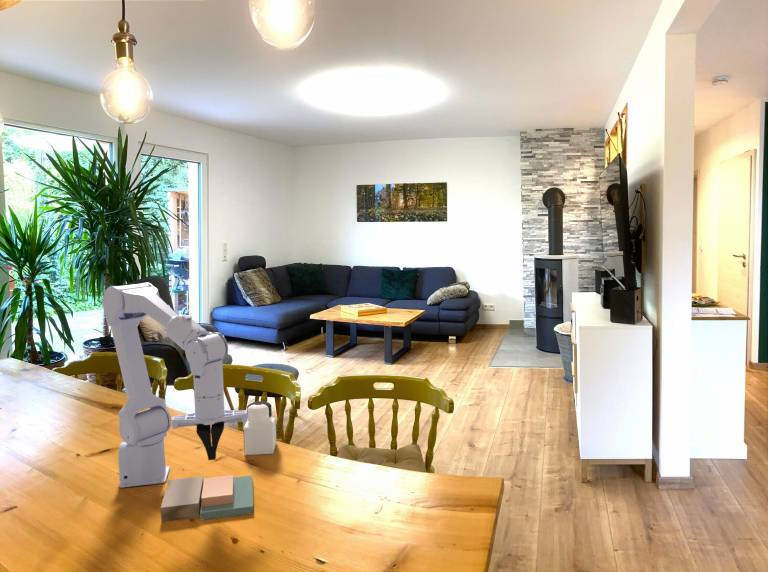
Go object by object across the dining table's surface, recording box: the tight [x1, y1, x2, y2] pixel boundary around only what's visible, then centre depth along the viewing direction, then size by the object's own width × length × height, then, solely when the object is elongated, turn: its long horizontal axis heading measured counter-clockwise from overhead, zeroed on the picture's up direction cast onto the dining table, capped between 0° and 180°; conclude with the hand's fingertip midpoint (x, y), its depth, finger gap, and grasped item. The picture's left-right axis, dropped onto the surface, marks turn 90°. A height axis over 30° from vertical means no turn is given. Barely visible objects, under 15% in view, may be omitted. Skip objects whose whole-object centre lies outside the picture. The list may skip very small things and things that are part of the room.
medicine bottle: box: [242, 400, 277, 456], centre depth 144 cm, size 7×7×12 cm
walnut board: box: [160, 476, 204, 523], centre depth 116 cm, size 7×12×3 cm, turn 13°
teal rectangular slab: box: [199, 475, 254, 521], centre depth 119 cm, size 10×14×2 cm
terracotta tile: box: [201, 474, 234, 507], centre depth 118 cm, size 6×9×2 cm, turn 14°
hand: (212, 458), depth 117 cm, fingers closed
